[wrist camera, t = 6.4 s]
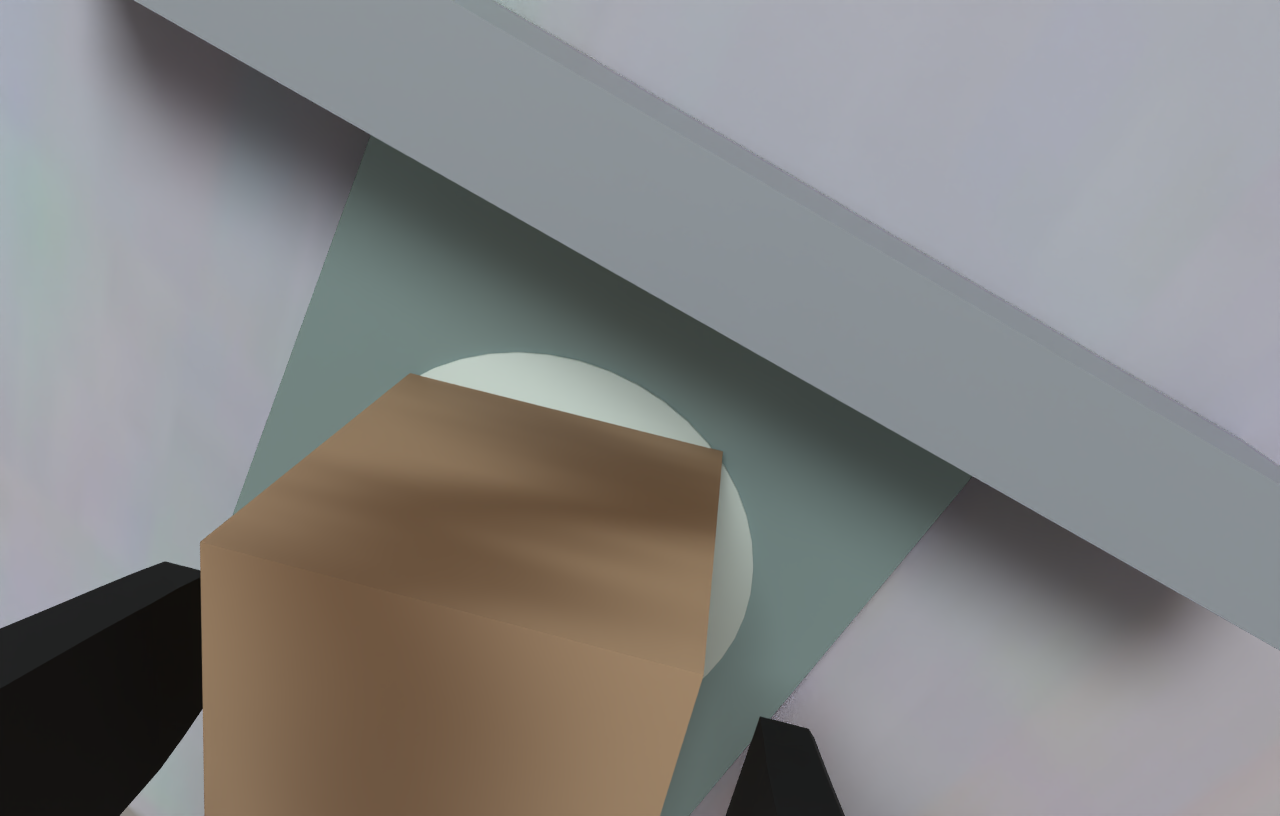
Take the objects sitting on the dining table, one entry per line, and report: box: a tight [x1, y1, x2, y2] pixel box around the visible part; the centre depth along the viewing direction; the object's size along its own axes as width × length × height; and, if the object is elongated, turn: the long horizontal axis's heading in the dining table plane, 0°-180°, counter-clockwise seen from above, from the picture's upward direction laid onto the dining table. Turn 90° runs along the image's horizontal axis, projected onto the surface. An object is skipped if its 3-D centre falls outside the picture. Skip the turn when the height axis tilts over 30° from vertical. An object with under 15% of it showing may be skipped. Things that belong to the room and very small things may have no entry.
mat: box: [233, 135, 972, 816], centre depth 13 cm, size 10×10×1 cm
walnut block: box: [200, 373, 723, 816], centre depth 11 cm, size 5×5×5 cm
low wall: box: [134, 0, 1280, 650], centre depth 9 cm, size 18×2×4 cm, turn 63°
